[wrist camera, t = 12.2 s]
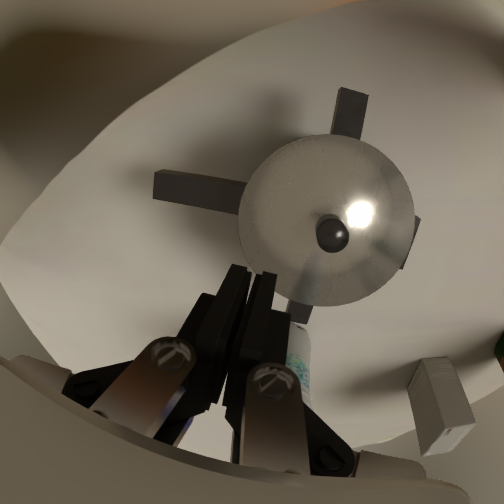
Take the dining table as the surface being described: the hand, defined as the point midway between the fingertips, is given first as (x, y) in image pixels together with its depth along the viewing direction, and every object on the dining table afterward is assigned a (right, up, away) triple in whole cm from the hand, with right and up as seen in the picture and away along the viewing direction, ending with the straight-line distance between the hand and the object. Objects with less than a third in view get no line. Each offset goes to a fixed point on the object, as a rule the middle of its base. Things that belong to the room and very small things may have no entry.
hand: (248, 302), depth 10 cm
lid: (+6, +4, +12) cm, 14 cm away
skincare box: (+31, -19, +29) cm, 47 cm away
